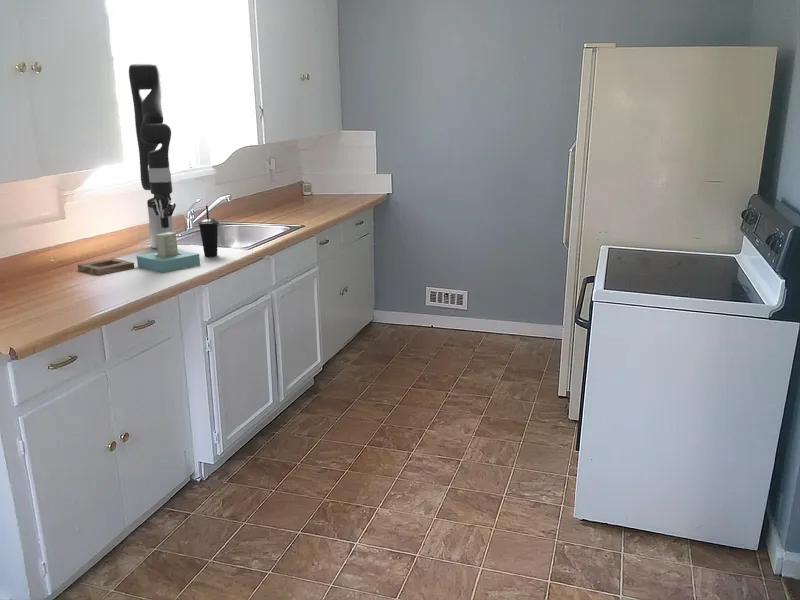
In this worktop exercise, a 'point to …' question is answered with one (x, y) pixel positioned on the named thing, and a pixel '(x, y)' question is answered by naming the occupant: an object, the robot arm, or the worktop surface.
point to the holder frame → (105, 266)
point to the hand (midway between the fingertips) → (165, 227)
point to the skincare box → (166, 244)
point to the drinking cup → (209, 235)
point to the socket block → (168, 261)
